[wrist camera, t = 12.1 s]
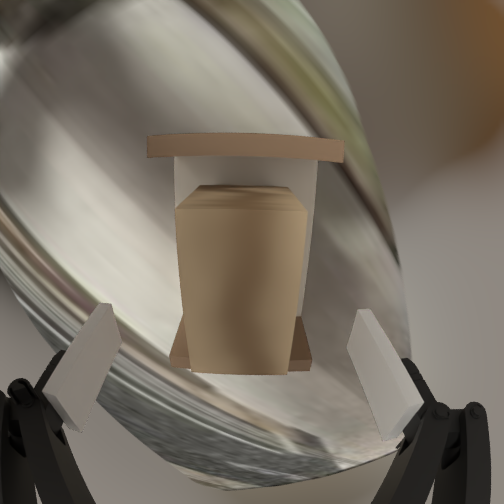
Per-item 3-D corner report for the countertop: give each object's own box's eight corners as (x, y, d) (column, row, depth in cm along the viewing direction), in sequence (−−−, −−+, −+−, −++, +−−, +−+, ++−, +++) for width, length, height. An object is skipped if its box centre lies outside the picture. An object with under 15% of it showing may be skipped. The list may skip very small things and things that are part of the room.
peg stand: (186, 318, 31) (171, 366, 24) (176, 136, 24) (147, 135, 16) (298, 321, 32) (309, 370, 24) (316, 140, 24) (344, 140, 17)
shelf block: (204, 311, 26) (191, 372, 19) (200, 184, 22) (174, 208, 14) (278, 313, 26) (287, 374, 19) (287, 186, 22) (307, 211, 14)
